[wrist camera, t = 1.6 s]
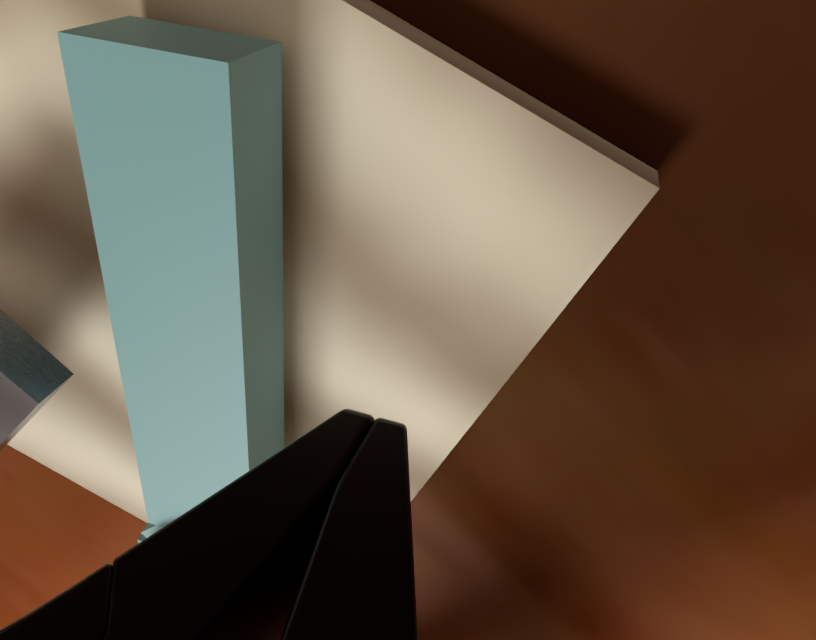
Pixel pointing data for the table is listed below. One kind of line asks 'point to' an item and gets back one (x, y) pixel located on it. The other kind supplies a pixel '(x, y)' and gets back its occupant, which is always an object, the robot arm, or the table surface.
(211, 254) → the link
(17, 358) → the pintle and keeper
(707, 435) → the table surface
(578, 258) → the base board
